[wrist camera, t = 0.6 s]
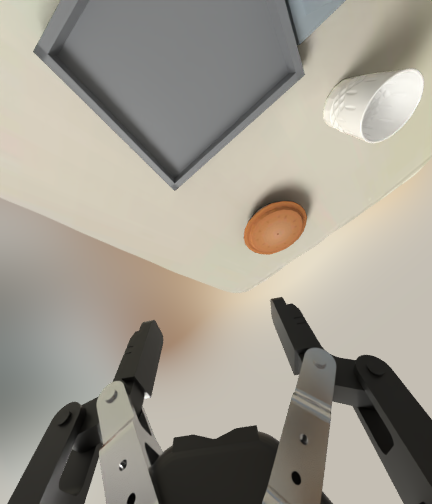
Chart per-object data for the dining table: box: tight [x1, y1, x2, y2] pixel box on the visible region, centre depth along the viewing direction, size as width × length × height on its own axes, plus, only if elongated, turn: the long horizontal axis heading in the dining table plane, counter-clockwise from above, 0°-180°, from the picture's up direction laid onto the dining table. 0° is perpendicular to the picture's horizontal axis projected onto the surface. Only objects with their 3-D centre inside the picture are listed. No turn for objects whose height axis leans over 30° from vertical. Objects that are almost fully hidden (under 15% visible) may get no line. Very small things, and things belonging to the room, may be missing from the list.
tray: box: [33, 0, 305, 191], centre depth 25 cm, size 26×22×3 cm
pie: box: [244, 201, 307, 254], centre depth 45 cm, size 15×16×5 cm
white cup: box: [323, 68, 424, 143], centre depth 28 cm, size 8×8×10 cm
